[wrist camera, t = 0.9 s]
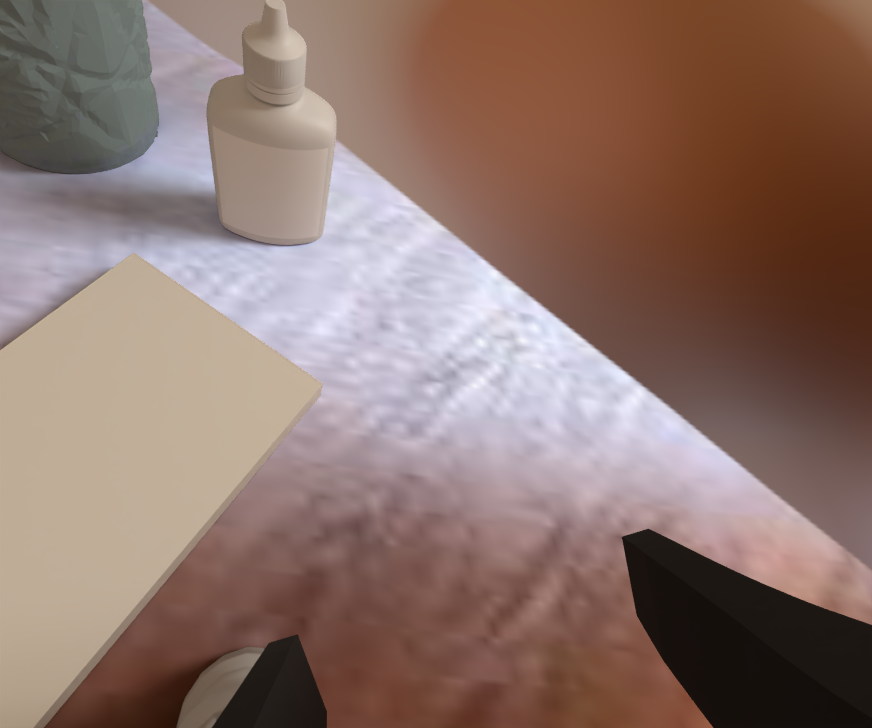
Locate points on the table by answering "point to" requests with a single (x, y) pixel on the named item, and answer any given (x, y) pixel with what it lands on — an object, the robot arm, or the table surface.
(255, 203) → the eye dropper bottle
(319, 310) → the table surface
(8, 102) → the green cup
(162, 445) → the cream tile
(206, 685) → the rook chess piece
